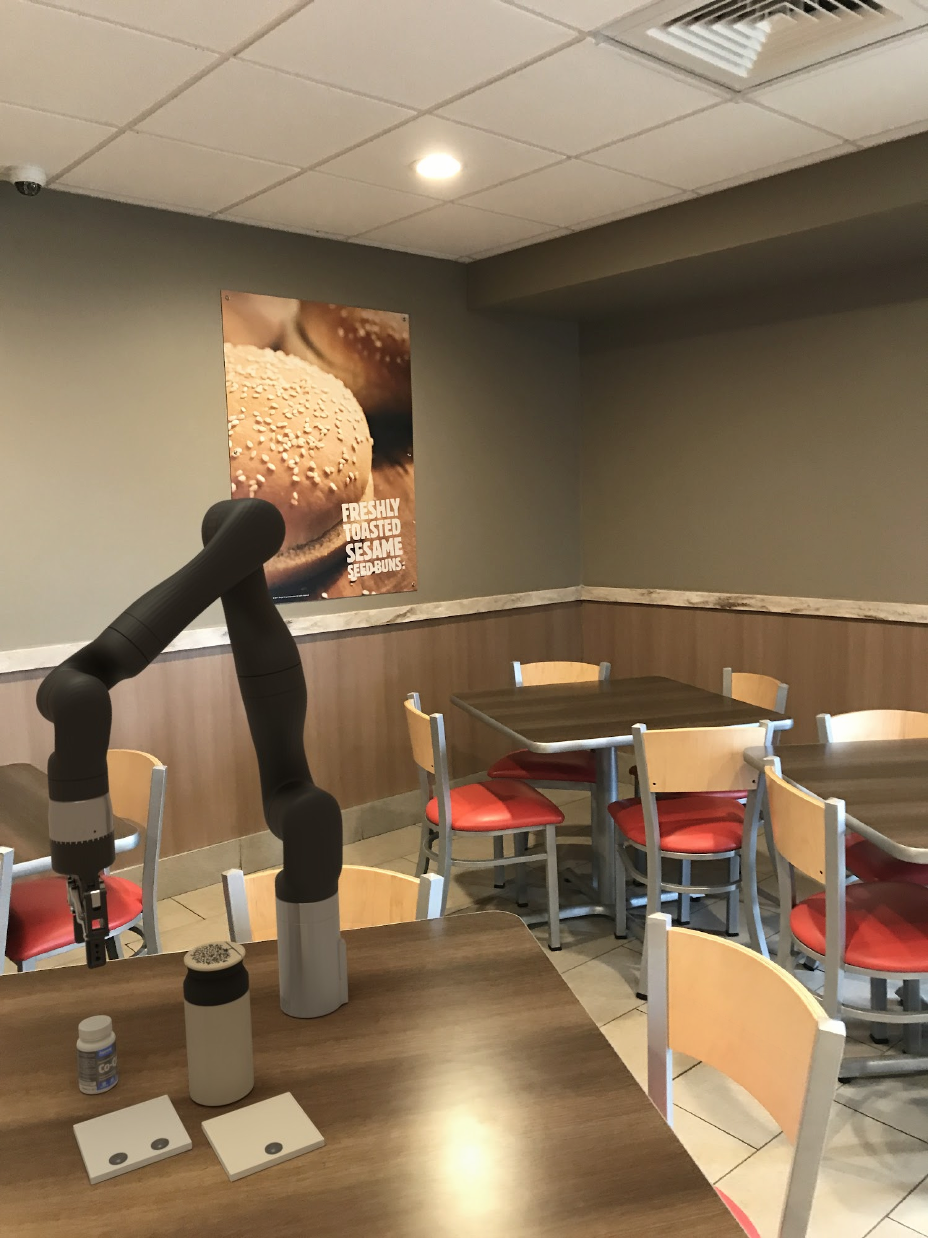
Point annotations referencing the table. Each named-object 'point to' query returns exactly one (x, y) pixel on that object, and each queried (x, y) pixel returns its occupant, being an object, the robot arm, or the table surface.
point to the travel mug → (218, 1023)
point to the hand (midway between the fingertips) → (90, 953)
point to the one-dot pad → (261, 1135)
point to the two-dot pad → (130, 1138)
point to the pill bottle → (96, 1055)
